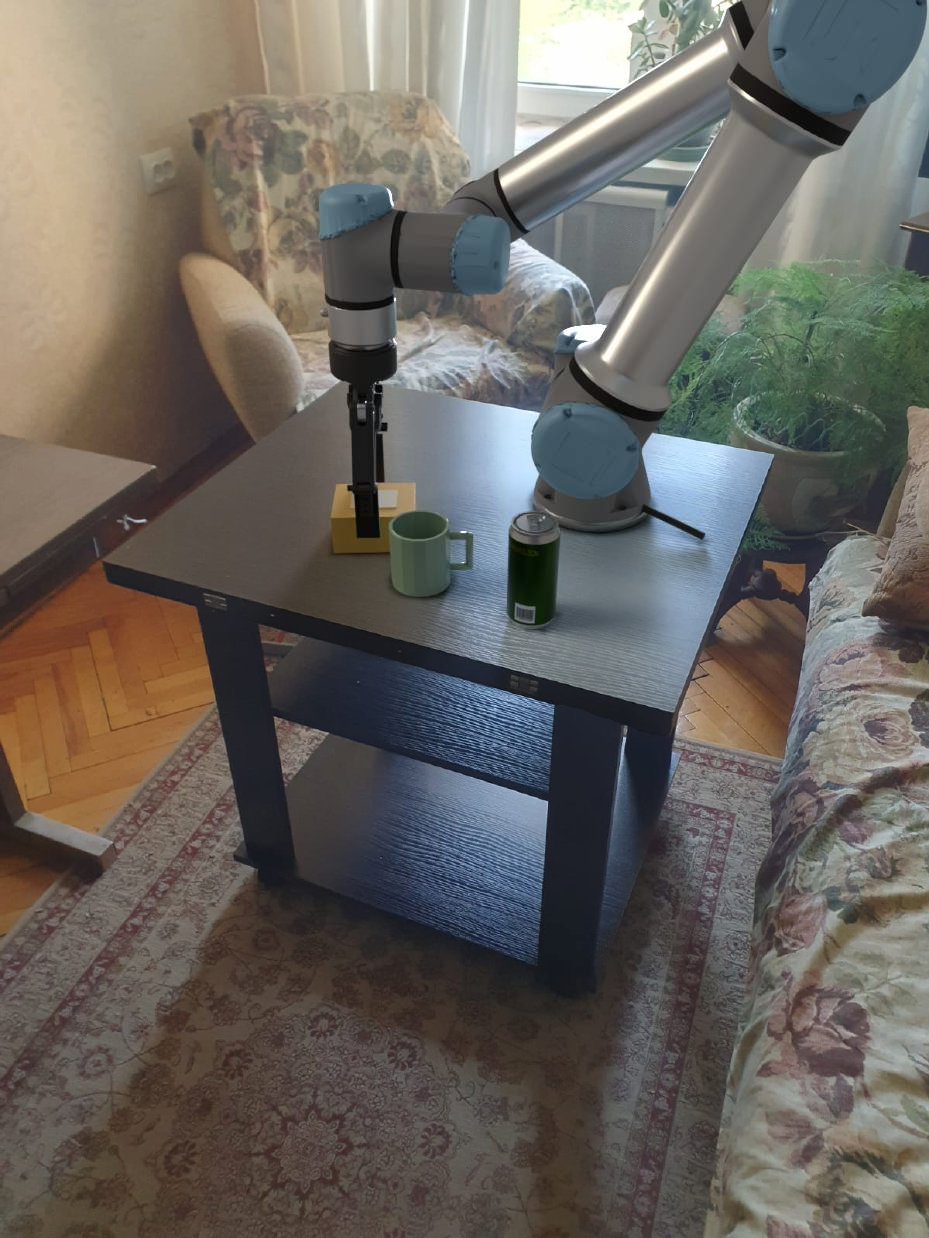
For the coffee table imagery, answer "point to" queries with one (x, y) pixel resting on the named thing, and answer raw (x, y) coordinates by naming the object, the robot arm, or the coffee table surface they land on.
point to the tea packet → (390, 505)
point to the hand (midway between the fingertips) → (371, 507)
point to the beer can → (532, 569)
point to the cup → (424, 552)
